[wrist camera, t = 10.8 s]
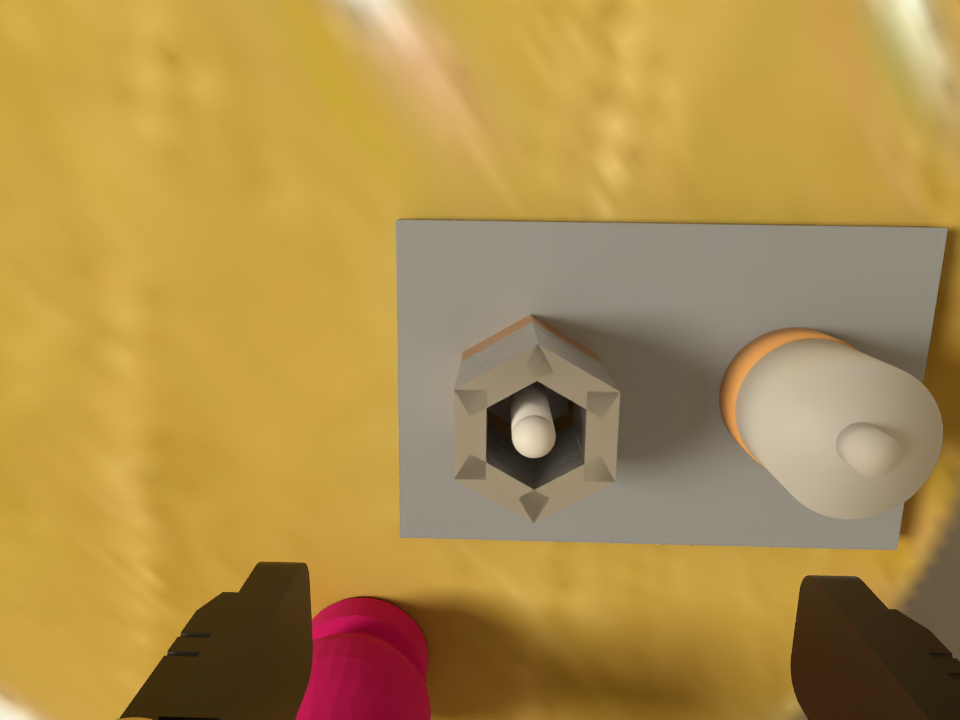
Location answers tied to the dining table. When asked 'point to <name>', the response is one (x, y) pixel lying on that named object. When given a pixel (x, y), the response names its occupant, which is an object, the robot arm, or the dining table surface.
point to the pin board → (684, 375)
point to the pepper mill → (366, 664)
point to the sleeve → (579, 433)
